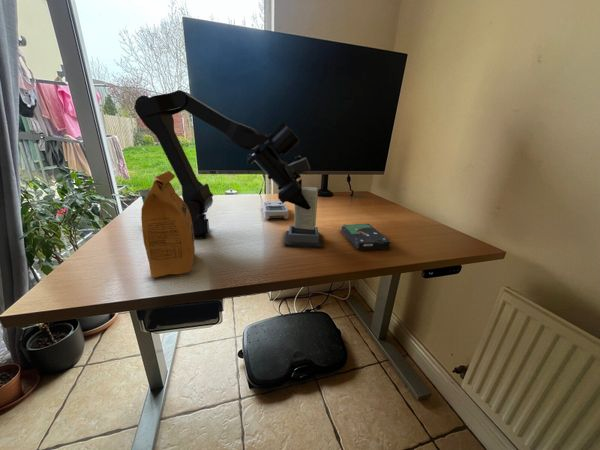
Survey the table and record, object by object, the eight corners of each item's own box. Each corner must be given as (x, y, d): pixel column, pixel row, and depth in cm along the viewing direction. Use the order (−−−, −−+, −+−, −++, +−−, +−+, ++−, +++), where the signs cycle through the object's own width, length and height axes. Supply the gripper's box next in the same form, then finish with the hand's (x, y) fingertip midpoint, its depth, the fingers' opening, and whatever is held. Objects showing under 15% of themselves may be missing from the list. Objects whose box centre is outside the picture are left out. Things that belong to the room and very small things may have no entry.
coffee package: (201, 251, 65) (192, 169, 57) (193, 277, 54) (180, 180, 46) (161, 253, 63) (146, 169, 55) (143, 281, 52) (121, 179, 44)
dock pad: (321, 248, 71) (322, 237, 70) (284, 246, 71) (285, 236, 70) (319, 234, 81) (320, 225, 79) (286, 232, 80) (286, 223, 79)
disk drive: (389, 249, 73) (367, 230, 86) (391, 241, 72) (368, 223, 85) (358, 251, 71) (340, 231, 84) (359, 242, 70) (341, 223, 83)
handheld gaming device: (283, 208, 105) (283, 200, 104) (288, 220, 92) (288, 210, 90) (262, 209, 103) (262, 200, 102) (265, 221, 90) (264, 211, 88)
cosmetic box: (315, 225, 76) (319, 187, 71) (313, 230, 72) (317, 190, 67) (296, 222, 77) (298, 184, 72) (292, 227, 73) (294, 188, 68)
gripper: (293, 148, 57) (334, 197, 61) (295, 144, 74) (327, 182, 78) (260, 179, 59) (301, 223, 64) (269, 168, 77) (301, 203, 81)
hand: (309, 206), depth 72 cm, fingers closed on cosmetic box, 5 cm apart
